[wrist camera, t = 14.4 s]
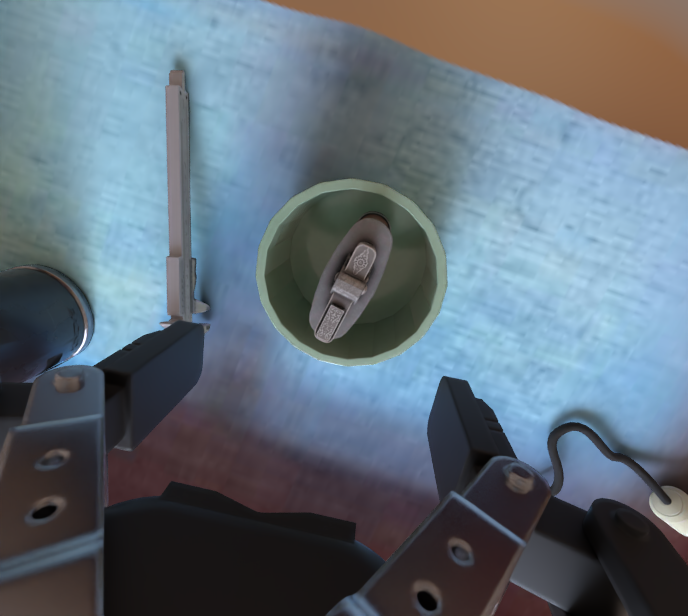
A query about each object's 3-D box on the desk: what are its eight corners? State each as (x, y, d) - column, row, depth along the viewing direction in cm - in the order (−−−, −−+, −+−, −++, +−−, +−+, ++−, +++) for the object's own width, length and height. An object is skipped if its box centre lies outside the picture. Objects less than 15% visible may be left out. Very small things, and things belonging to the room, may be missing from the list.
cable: (448, 506, 37) (454, 537, 34) (579, 402, 32) (601, 426, 29) (558, 587, 39) (574, 624, 35) (698, 501, 34) (732, 534, 30)
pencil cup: (278, 311, 32) (247, 345, 25) (296, 168, 28) (267, 161, 21) (411, 339, 32) (419, 382, 24) (449, 197, 28) (471, 200, 21)
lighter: (361, 202, 28) (349, 210, 18) (400, 223, 28) (408, 241, 18) (318, 293, 30) (287, 340, 21) (354, 310, 30) (340, 366, 21)
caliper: (213, 327, 33) (175, 358, 27) (201, 327, 33) (162, 357, 28) (186, 71, 27) (130, 39, 21) (172, 72, 27) (112, 39, 21)
